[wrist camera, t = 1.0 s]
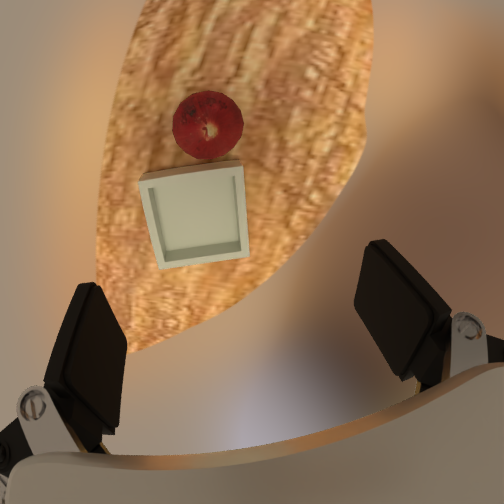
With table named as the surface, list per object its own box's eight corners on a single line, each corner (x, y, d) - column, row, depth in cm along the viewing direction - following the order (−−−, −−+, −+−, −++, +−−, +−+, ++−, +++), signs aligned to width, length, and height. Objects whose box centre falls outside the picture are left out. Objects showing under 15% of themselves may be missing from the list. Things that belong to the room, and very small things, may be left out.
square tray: (143, 173, 26) (137, 181, 23) (238, 159, 27) (243, 166, 24) (161, 255, 31) (159, 269, 28) (245, 243, 32) (249, 256, 30)
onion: (163, 118, 23) (149, 125, 17) (212, 80, 22) (218, 72, 16) (201, 161, 26) (202, 186, 20) (248, 126, 25) (268, 138, 19)
